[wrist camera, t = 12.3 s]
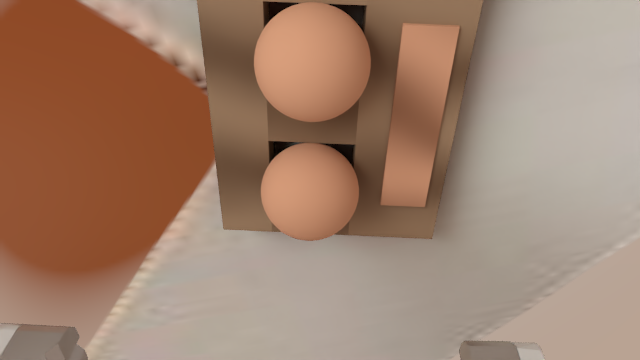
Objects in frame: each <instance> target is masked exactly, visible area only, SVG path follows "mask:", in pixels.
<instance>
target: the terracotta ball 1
mask: <svg viewBox="0 0 640 360" xmlns="http://www.w3.org/2000/svg"><path fill="white" fill-rule="evenodd" d="M370 69H371V56H370V49H369V46H368V42H367V40H366V37H365V35H364V33H363V31H362V30H361V28H360V27H359V25H358V24H357V23H356V22H355V21H354V20H353V19H352V18H351V17H350V16H349V15H348V14H346V13H345V12H344V11H342V10H340V9H338V8H337V7H334V6H331V5H329V4H324V3H318V2H306V3H300V4H296V5H293V6H290V7H288V8H286V9H284V10H282V11H281V12H279V13H278V14H277V15H276V16H274V17H273V18H272V19H271V20H270V21H269V22H268V24H267V25H266V26H265V28H264V29H263V31H262V32H261V34H260V37H259V39H258V41H257V44H256V48H255V54H254V70H255V76H256V79H257V83H258V85H259V87H260V89H261V91H262V93H263V95H264V96H265V98H266V99H267V100H268V102H269V103H270V104H271V105H272V106H273V107H274V108H276V109H277V110H278V111H280V112H281V113H283V114H284V115H286V116H288V117H290V118H293V119H296V120H299V121H304V122H320V121H326V120H329V119H332V118H335V117H337V116H339V115H341V114H342V113H344V112H345V111H347V110H348V109H350V108H351V107H352V106H353V105H354V104H355V103H356V101H357V100H358V99H359V98H360V96H361V95H362V93H363V91H364V89H365V87H366V85H367V82H368V79H369V75H370Z"/></svg>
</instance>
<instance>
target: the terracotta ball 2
mask: <svg viewBox="0 0 640 360" xmlns="http://www.w3.org/2000/svg"><path fill="white" fill-rule="evenodd" d="M358 198H359V185H358V179H357V176H356V173H355V171H354V169H353V167H352V165H351V164H350V163H349V161H348V160H347V159H346V158H345V157H344V156H343V155H342V154H341V153H340V152H338V151H337V150H335V149H334V148H332V147H330V146H327V145H324V144H320V143H300V144H296V145H293V146H290V147H288V148H286V149H285V150H283V151H282V152H280V153H279V154H278V155H277V156H276V157H275V158H274V159H273V160H272V161H271V162H270V164H269V165H268V167H267V169H266V171H265V173H264V176H263V179H262V184H261V199H262V204H263V207H264V210H265V212H266V214H267V216H268V218H269V219H270V221H271V222H272V223H273V224H274V225H275V226H276V227H277V228H278V229H279V230H280V231H281V232H283V233H285V234H286V235H288V236H291V237H293V238H296V239H300V240H307V241H313V240H320V239H324V238H327V237H329V236H332V235H333V234H335V233H337V232H338V231H340V230H341V229H342V228H343V227H344V226H345V225H346V224H347V223H348V222H349V220H350V219H351V217H352V216H353V214H354V212H355V210H356V207H357V203H358Z"/></svg>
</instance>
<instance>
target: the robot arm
mask: <svg viewBox="0 0 640 360" xmlns="http://www.w3.org/2000/svg"><path fill="white" fill-rule="evenodd" d="M78 339H79V335H78V332H77V330H76V328H75V327H65V326H64V327H63V326H46V325H27V324H8V323H7V324H6V323H0V360H88V357H87V354H86V352H85V350H84V349H83V348H81V347H80V346H79V345H77V344H76V343H77V341H78ZM459 353H460V358H461V360H545V358H544V355H543V352H542V349H541V348H540V347H539V345H538V344H536V343H511V342H507V341H506V342H505V341H463V342H462V343H461V346H460V349H459Z"/></svg>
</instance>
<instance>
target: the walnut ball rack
mask: <svg viewBox="0 0 640 360" xmlns="http://www.w3.org/2000/svg"><path fill="white" fill-rule="evenodd" d="M269 2H293V3H306V2H318V3H324V4H344V5H364V15H363V28H362V31H363V33H364V35H365V37H366V40H367V42H368V46H369V49H370V56H371V69H370V75H369V79H368V82H367V85H366V87H365V89H364V91H363V93H362V95H361V96H360V98H359V99H358V100H357V101H356V103H355V104H354V105H353V106H352V107H351V108H350V109H348V110H347V111H345V112H344V113H342V114H341V115H339V116H337V117H335V118H332V119H329V120H326V121H320V122H304V121H299V120H296V119H293V118H290V117H288V116H286V115H284V114H283V113H281V112H280V111H278V110H277V109H276V108H274V107H273V106H272V105H271V104H270V103H269V102H268V100H267V99H266V98H265V96H264V95H263V93H262V91H261V89H260V87H259V85H258V83H257V79H256V76H255V70H254V54H255V48H256V44H257V41H258V39H259V37H260V34H261V32H262V31H263V29H264V28H265V26H266V25H267V24H268V22H269ZM482 4H483V0H197V5H198V13H199V22H200V30H201V39H202V48H203V56H204V65H205V74H206V82H207V91H208V99H209V108H210V116H211V125H212V133H213V142H214V151H215V160H216V168H217V177H218V186H219V194H220V203H221V211H222V220H223V229H228V230H250V231H272V232H281V231H280V230H279V229H278V228H277V227H276V226H275V225H274V224H273V223H272V222H271V221H270V219H269V218H268V216H267V214H266V212H265V210H264V207H263V204H262V199H261V184H262V179H263V176H264V173H265V171H266V169H267V167H268V165H269V164H270V162H271V161H272V160H273V159H274V143H273V141H283V142H306V143H329V144H352V145H353V156H352V167H353V169H354V171H355V173H356V176H357V179H358V185H359V198H358V203H357V207H356V210H355V212H354V214H353V216H352V217H351V219H350V220H349V222H348V223H347V224H346V225H345V226H344V227H343V228H342V229H341V230H340V231H338V232H337V233H335V234H337V235H359V236H381V237H402V238H424V239H432V236H433V231H434V227H435V222H436V217H437V213H438V208H439V204H440V199H441V194H442V190H443V185H444V180H445V176H446V171H447V166H448V162H449V157H450V152H451V148H452V143H453V139H454V134H455V129H456V125H457V120H458V115H459V111H460V106H461V101H462V97H463V92H464V87H465V83H466V78H467V74H468V69H469V64H470V60H471V55H472V50H473V46H474V41H475V36H476V32H477V27H478V22H479V18H480V13H481V9H482Z"/></svg>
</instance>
